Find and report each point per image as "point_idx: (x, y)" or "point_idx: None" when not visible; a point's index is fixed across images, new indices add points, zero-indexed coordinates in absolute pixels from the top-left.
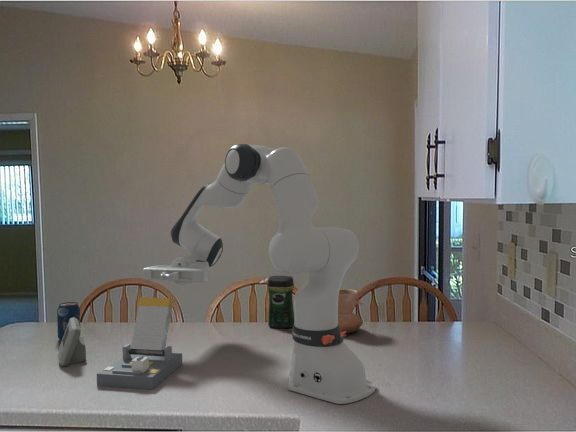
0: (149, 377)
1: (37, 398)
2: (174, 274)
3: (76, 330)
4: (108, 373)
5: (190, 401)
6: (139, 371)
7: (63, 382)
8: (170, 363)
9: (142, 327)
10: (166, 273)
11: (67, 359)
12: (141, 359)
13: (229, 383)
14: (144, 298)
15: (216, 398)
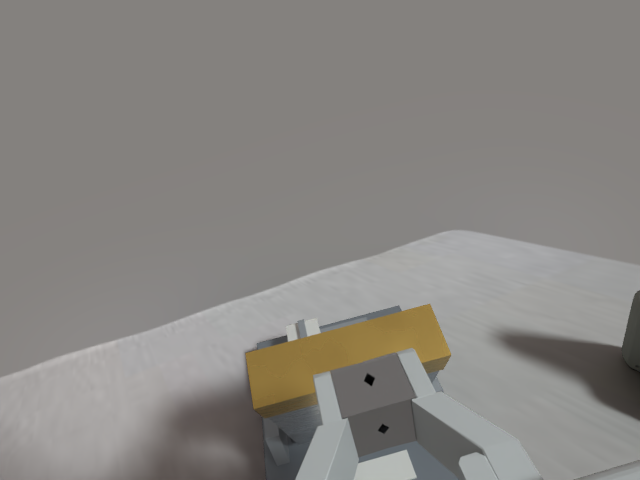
0: (264, 342)
1: (448, 257)
2: (309, 464)
3: (637, 294)
4: (373, 316)
5: (160, 357)
6: None
7: (490, 306)
8: (263, 436)
9: None
10: (461, 474)
11: (622, 346)
12: (296, 331)
13: (79, 470)
14: (400, 314)
15: (107, 388)
